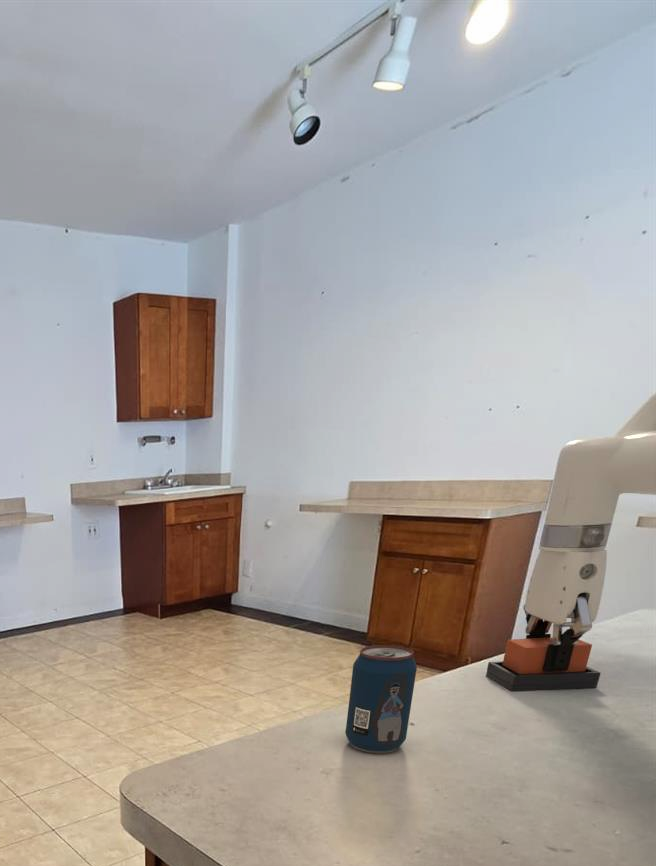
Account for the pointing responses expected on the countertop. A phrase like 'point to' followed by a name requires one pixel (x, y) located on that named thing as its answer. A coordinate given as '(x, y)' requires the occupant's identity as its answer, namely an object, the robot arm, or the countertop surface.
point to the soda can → (380, 698)
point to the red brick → (541, 655)
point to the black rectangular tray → (541, 679)
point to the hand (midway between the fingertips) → (543, 664)
